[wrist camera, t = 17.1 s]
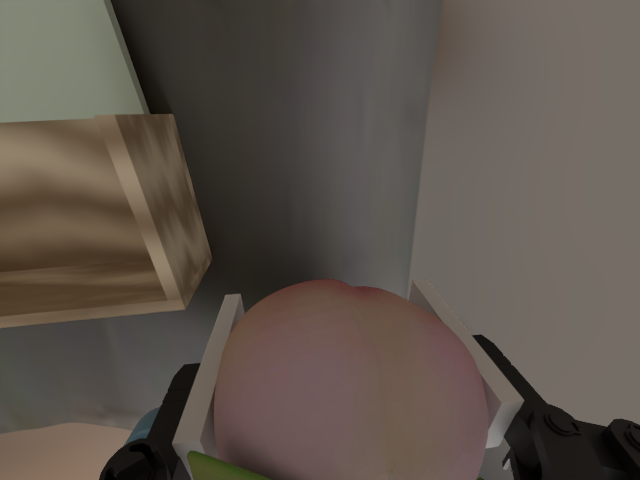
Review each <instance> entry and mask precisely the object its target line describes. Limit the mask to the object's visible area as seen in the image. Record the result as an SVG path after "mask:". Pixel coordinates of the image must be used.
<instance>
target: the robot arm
mask: <svg viewBox="0 0 640 480" xmlns="http://www.w3.org/2000/svg"><path fill="white" fill-rule="evenodd" d="M409 302H411V303H413V304H415V305H417V306H418V307H420V308H422V309H424V310H426V311H427V312H429V313H430V314H432V315H433V316H435V317H436V318H437V319H439V320H440V321H441V322H443V323H444V324H445V325H446V326H448V327H449V328H450V329H451V330H452V331H453V332H454V333H455V334H456V335H457V336H458V337H459V338H460V340H461V341H462V342H463V343H464V345H465V346H466V347H467V349H468V350H469V352H470V354H471V355H472V357H473V358H474V360H475V363H476V365H477V368H478V370H479V373H480V375H481V380H482V384H483V388H484V392H485V397H486V402H487V409H488V438H487V443H486V448H491V447H497V446H499V445H500V443H501V442H502V440H503V438H505V439H506V441H507V443H508V444H509V446H510V447H511V448H510V450H509V452H508V453H507V455H506V457H505V458H504V460H503V462H502V463H503V469H507V468H508V466H509V464H511V468H512V470H511V472H513V476H514V480H640V425H638V424H636V423H634V422H632V421H628V420H624V419H614V420H613V421H612V422H611V423H610V425H609V426H608V427H605V426H601V425H596V424H591V423H586V422H582V421H578V420H575V419H574V418H573V417H572V416H571V415H569V414H568V413H566V412H565V411H563V410H562V409H560V408H558V407H555V406H553V405H549V404H547V403H546V402H545V401H544V400H543V399H542V398H541V396H540V395H539V394H538V393H537V392H536V391H535V390H534V389H533V387H532V386H531V385H530V384H529V383H528V382H527V381H526V380H525V378H524V377H523V376H522V375H521V374H520V373H519V372H518V370H517V369H516V368H515V367H514V366H513V365H511V363H510V361H509V360H508V359H507V358H506V357H505V356H503V354H502V352H501V351H500V350H499V349H498V348H497V347H496V346H495V344H494V343H492V342H491V341H490V340H488V339H487V338H485V337H484V336H483V335H471V334H470V333H469V332H468V330H467V329H466V328H465V327H464V325H463V324H462V323H461V322H460V321H459V319H458V318H457V317H456V316H455V314H454V313H453V312H452V311H451V310H450V308H449V307H448V306H447V305H446V303H445V302H444V301H443V300H442V298H441V297H440V296H439V295H438V294H437V292H436V291H435V290H434V289H433V288H432V286H431V285H430V284H429V283H428V281H427V280H426V279H423V280H412V286H411V292H410V297H409ZM243 315H244V308H243V303H242V298H241V294H231V295H225V297H224V300H223V303H222V306H221V309H220V311H219V314H218V317H217V320H216V322H215V325H214V328H213V331H212V334H211V336H210V339H209V342H208V345H207V347H206V350H205V353H204V356H203V359H202V361H201V363H196V364H186V365H183V367H182V368H181V369H180V370H179V371H178V372H177V374H176V375H175V376H174V377H173V380H172V382H171V384H170V386H169V389H168V393H166V395H165V398H164V400H163V404H162V405H161V407H159V408H156V409H154V410H152V411H150V412H149V413H147V414H146V415H145V416H144V417H143V418H142V419H141V420H140V421H139V422H138V424H137V425H136V427H135V428H134V430H133V432H132V433H131V435H130V437H129V438H128V440H127V441H126V443H125V444H124V446H123V447H122V448H121V449H119V450H118V451H117V452H116V453H115V454H114V455H113V456H112V457H111V458H110V459H109V461H108V462H107V464H106V465H105V467H104V469H103V470H102V472H101V475H100V478H99V480H193V477H192V473H191V469H190V465H189V462H188V459H187V453H188V452H189V451H197V452H200V453H203V454H206V455H208V456H211V457H214V458H217V459H219V458H218V454H217V448H216V441H215V434H214V398H215V388H216V381H217V375H218V370H219V365H220V361H221V357H222V353H223V350H224V347H225V344H226V342H227V339H228V337H229V335H230V333H231V332H232V330H233V329H234V327H235V326H236V324H237V323H238V321H239V320H240V319H241V318H242V317H243Z"/></svg>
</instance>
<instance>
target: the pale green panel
mask: <svg viewBox="0 0 640 480" xmlns="http://www.w3.org/2000/svg"><path fill="white" fill-rule="evenodd" d="M113 114H150V112H149V109H148V107H147V104H146V101H145V98H144V95H143V92H142V89H141V87H140V84H139V81H138V78H137V75H136V72H135V69H134V67H133V64H132V61H131V58H130V55H129V52H128V49H127V47H126V44H125V41H124V38H123V35H122V32H121V29H120V27H119V24H118V21H117V18H116V15H115V12H114V9H113V7H112V4H111V1H110V0H0V123H4V122H26V121H48V120H69V119H91V118H95V116H94V115H113Z"/></svg>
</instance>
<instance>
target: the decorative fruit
mask: <svg viewBox="0 0 640 480" xmlns="http://www.w3.org/2000/svg"><path fill="white" fill-rule="evenodd" d="M214 434H215V441H216V448H217V454H218V458H219V459H217V458H214V457H211V456H208V455H206V454H203V453H200V452H197V451H189V452H188V453H187V459H188V462H189V465H190V469H191V473H192V477H193V480H484V479H482V478H481V477H479V478H477V477H478V474H479V471H480V468H481V464H482V461H483V457H484V453H485V448H486V443H487V438H488V409H487V402H486V397H485V392H484V388H483V384H482V380H481V375H480V373H479V370H478V368H477V365H476V363H475V360H474V358H473V357H472V355H471V354H470V352H469V350H468V349H467V347H466V346H465V345H464V343H463V342H462V341H461V340H460V338H459V337H458V336H457V335H456V334H455V333H454V332H453V331H452V330H451V329H450V328H449V327H448V326H446V325H445V324H444V323H443V322H441V321H440V320H439V319H437V318H436V317H435V316H433V315H432V314H430V313H429V312H427V311H426V310H424V309H422V308H420V307H418V306H417V305H415V304H413V303H411V302H409V301H408V300H406V299H404V298H402V297H400V296H398V295H396V294H394V293H391V292H388V291H385V290H382V289H378V288H373V287H366V286H361V287H352V286H349V285H347V284H345V283H343V282H342V281H338V280H334V279H318V280H311V281H306V282H302V283H298V284H294V285H291V286H288V287H286V288H283V289H281V290H278V291H276V292H274V293H272V294H270V295H268V296H267V297H265V298H264V299H262V300H261V301H259V302H258V303H257V304H255V305H254V306H253V307H251V308H250V309H249V310H248V311H247V312H246V313H245V314H244V315H243V317H242V318H241V319H240V320H239V321H238V323H237V324H236V326H235V327H234V329H233V330H232V332H231V333H230V335H229V337H228V339H227V342H226V344H225V347H224V350H223V353H222V357H221V361H220V365H219V370H218V375H217V381H216V388H215V398H214Z"/></svg>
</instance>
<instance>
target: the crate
mask: <svg viewBox="0 0 640 480" xmlns="http://www.w3.org/2000/svg"><path fill="white" fill-rule="evenodd" d="M94 116H95V118H91V119H69V120H48V121H26V122H4V123H0V328H4V327H14V326H24V325H34V324H44V323H54V322H64V321H75V320H85V319H95V318H105V317H115V316H125V315H135V314H145V313H155V312H165V311H175V310H185V309H186V308H187V306H188V304H189V302H190V300H191V298H192V296H193V295H194V293H195V291H196V289H197V287H198V285H199V283H200V282H201V280H202V278H203V276H204V274H205V272H206V270H207V268H208V267H209V265H210V263H211V261H212V255H211V251H210V248H209V244H208V240H207V237H206V233H205V229H204V226H203V222H202V218H201V215H200V211H199V207H198V204H197V200H196V196H195V193H194V189H193V185H192V181H191V178H190V174H189V170H188V167H187V163H186V159H185V156H184V152H183V148H182V145H181V141H180V137H179V134H178V130H177V126H176V122H175V119H174V115H173V114H113V115H94Z"/></svg>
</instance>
